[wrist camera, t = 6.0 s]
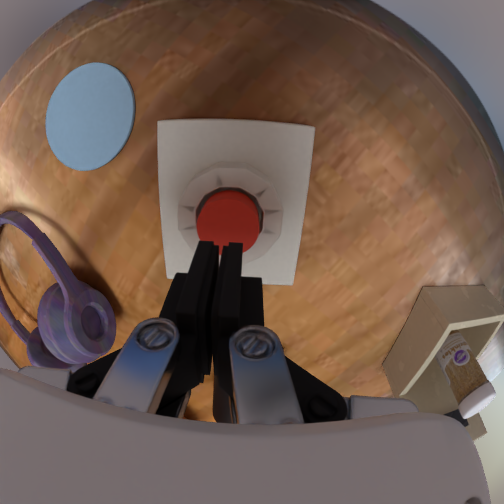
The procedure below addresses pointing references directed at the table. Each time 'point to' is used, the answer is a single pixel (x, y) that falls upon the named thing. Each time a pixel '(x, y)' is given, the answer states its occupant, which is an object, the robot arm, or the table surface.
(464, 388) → the sprinkles bottle
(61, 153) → the coaster
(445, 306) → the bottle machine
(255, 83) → the table surface
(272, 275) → the button block
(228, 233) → the release button
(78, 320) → the headphones
